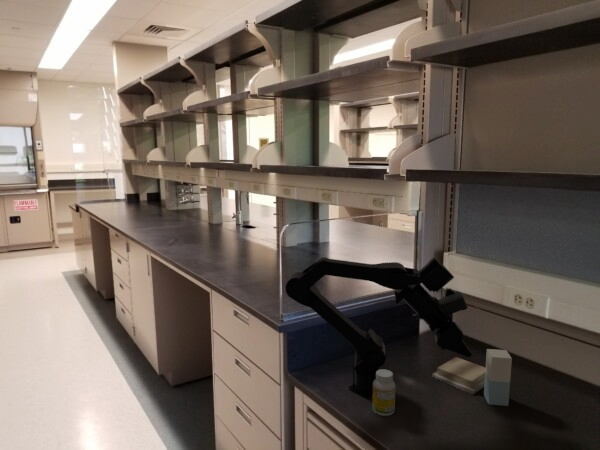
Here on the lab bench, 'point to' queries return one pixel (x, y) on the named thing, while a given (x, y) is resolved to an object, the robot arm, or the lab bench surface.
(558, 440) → the lab bench surface
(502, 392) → the white and blue box
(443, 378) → the tower base
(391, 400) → the supplement bottle
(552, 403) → the lab bench surface
